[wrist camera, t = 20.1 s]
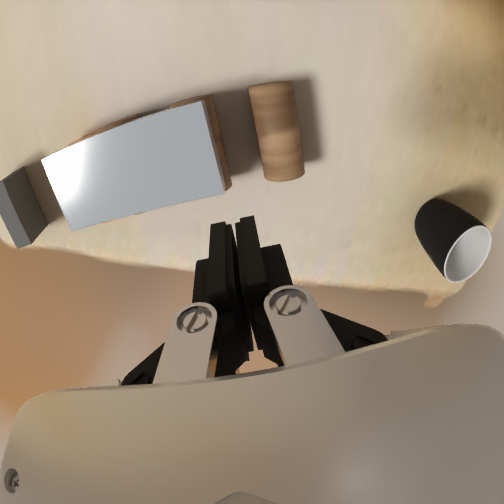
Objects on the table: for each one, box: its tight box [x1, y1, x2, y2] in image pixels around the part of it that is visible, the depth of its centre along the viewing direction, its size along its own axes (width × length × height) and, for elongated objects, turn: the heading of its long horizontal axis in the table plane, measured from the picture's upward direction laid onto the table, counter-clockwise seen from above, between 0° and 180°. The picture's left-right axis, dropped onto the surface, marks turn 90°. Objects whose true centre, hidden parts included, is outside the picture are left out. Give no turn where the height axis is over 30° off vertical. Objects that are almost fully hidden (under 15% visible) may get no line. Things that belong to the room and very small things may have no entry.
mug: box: [415, 199, 492, 283], centre depth 35 cm, size 12×9×10 cm
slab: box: [42, 99, 226, 231], centre depth 27 cm, size 18×9×2 cm, turn 101°
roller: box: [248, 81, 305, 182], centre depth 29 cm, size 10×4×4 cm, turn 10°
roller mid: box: [169, 94, 232, 191], centre depth 29 cm, size 10×4×4 cm, turn 10°
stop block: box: [0, 167, 48, 249], centre depth 30 cm, size 3×9×5 cm, turn 10°
